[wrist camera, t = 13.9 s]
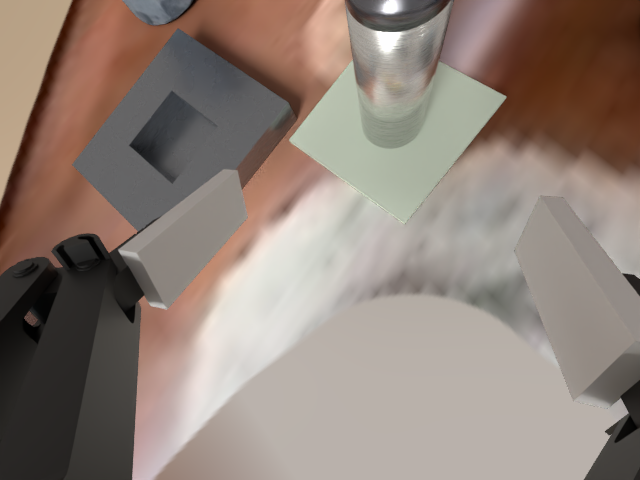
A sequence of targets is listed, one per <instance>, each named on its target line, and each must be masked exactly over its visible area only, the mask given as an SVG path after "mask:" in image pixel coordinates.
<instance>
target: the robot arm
mask: <svg viewBox="0 0 640 480" xmlns="http://www.w3.org/2000/svg"><path fill="white" fill-rule="evenodd" d="M247 218H248V216H247V211H246V207H245V202H244V198H243V193H242V189H241V184H240V179H239V175H238V170H229V169H223V170H222V171H221V172H219V173H218V174H217V175H215V176H214V177H213V178H211V179H210V180H209V181H208V182H206V183H205V184H204V185H202V186H201V187H200V188H198V189H197V190H196V191H194V192H193V193H192V194H190V195H189V196H188V197H187V198H185V199H184V200H183V201H181V202H180V203H179V204H177V205H176V206H175V207H173V208H172V209H171V210H169V211H168V212H167V213H165V214H164V215H163V216H161V217H159V218H156V219H154V220H153V221H151V222H150V223H149V224H147V225H146V226H145V228H142V229H141V230H140V231H138V232H137V234H134V235H133V236H132V237H130V238H129V239H128V240H126V241H125V242H124V243H122V244H121V245H120V246H118V247H117V248H116V249H114V250H113V251H112V252H110V253H108V251H107V250H106V248H105V247H104V245H103V243H102V242H101V240H100V238H99V237H98V236H97V235H95V234H81V235H77V236H74V237H71V238H68V239H66V240H64V241H62V242H61V243H59V244H58V245H56V246H55V247H54V248H53V250H52V251H51V252H52V253H53V254H54V256H55V257H56V258H57V259H58V261H59V262H60V263H61V265H62V266H63V267H61V268H55V267H54V266H53V264H52V263H51V262H50V260H49V259H47V258H45V257H36V258H32V259H26V260H24V261H21V262H18V263H17V264H16V265H14V266H12V267H10V268H9V269H8V270H6V271H5V272H4V273H3V274H2V275H1V276H0V480H132V469H133V451H134V432H135V413H136V395H137V376H138V357H139V338H140V320H141V306H140V304H139V302H138V301H139V300H140V299H141V298H142V297H143V296H145V297H146V299H147V301H148V302H149V304H150V306H154V307H158V308H163V309H168V308H169V307H170V306H171V305H172V303H173V302H174V301H175V300H176V299H177V298H178V297H179V295H180V294H181V293H182V292H183V291H184V290H185V289H186V287H187V286H188V285H189V284H190V283H191V282H192V281H193V279H194V278H195V277H196V276H197V275H198V274H199V273H200V271H201V270H202V269H203V268H204V267H205V266H206V265H207V263H208V262H209V261H210V260H211V259H212V258H213V257H214V255H215V254H216V253H217V252H218V251H219V250H220V249H221V247H222V246H223V245H224V244H225V243H226V242H227V241H228V239H229V238H230V237H231V236H232V235H233V234H234V233H235V231H236V230H237V229H238V228H239V227H240V226H241V225H242V223H243V222H244V221H245V220H246V219H247ZM514 251H515V254H516V256H517V259H518V262H519V264H520V267H521V269H522V272H523V274H524V277H525V279H526V282H527V285H528V287H529V290H530V292H531V295H532V297H533V300H534V302H535V305H536V307H537V310H538V313H539V315H540V318H541V320H542V323H543V325H544V328H545V330H546V333H547V336H548V338H549V341H550V343H551V346H552V348H553V351H554V353H555V356H556V359H557V361H558V364H559V366H560V369H561V371H562V374H563V376H564V379H565V381H566V384H567V387H568V389H569V392H570V394H571V397H572V399H573V401H574V402H578V403H583V404H587V405H592V406H596V407H601V408H605V409H608V408H609V407H610V406H612V405H613V404H614V403H615V402H616V401H618V400H619V399H620V398H621V399H622V401H623V403H624V404H625V406H626V408H627V410H628V412H629V414H627V415H626V416H625V417H623V418H622V419H621V420H619V421H618V422H617V423H615V424H614V425H613V426H611V427H610V428H609V429H607V430H606V431H605V432H606V433H607V434H608V435H611V434H612V435H611V436H610V438H609V440H608V441H607V443H606V445H605V446H604V448H603V449H602V451H601V453H600V455H599V456H598V458H597V459H596V461H595V463H594V464H593V466H592V467H591V469H590V471H589V472H588V474H587V476H586V477H585V479H584V480H640V279H639V278H637V277H636V276H635V275H631V274H623V273H621V272H620V270H619V269H618V268H617V267H616V265H615V264H614V263H613V261H612V260H611V259H610V258H609V256H608V255H607V254H606V252H605V251H604V250H603V249H602V247H601V246H600V245H599V243H598V242H597V241H596V240H595V238H594V237H593V236H592V234H591V233H590V232H589V231H588V229H587V228H586V227H585V225H584V224H583V223H582V222H581V220H580V219H579V218H578V216H577V215H576V214H575V213H574V211H573V210H572V209H571V207H570V206H569V205H568V204H567V202H566V201H565V200H564V198H563V197H551V196H540V197H539V199H538V201H537V203H536V205H535V207H534V209H533V212H532V214H531V216H530V218H529V220H528V222H527V225H526V227H525V229H524V231H523V233H522V235H521V238H520V240H519V242H518V244H517V246H516V248H515V250H514ZM28 311H30V312H31V313H32V314H33V315H34V316H35V317H36V318H37V319H38V321H37V322H36V324H35V325H33V326H32V325H30V324H29V323H28V322H27V321H26V320H25V319H24V317H25V315H26V314H27V313H28Z"/></svg>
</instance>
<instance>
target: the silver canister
mask: <svg viewBox="0 0 640 480" xmlns="http://www.w3.org/2000/svg"><path fill="white" fill-rule="evenodd" d="M453 2H454V0H345V5H346V12H347V20H348V27H349V35H350V42H351V50H352V57H353V65H354V72H355V80H356V87H357V94H358V102H359V109H360V117H361V124H362V130H363V133H364V135H365V136H366V138H367V139H368V140H369V141H370V142H371V143H372V144H374V145H376V146H378V147H381V148H386V149H393V148H399V147H402V146H404V145H406V144H408V143H410V142H411V141H412V140H414V139H415V138H416V136H417V135H418V134H419V132H420V130H421V128H422V125H423V121H424V117H425V113H426V110H427V106H428V102H429V98H430V94H431V90H432V86H433V82H434V78H435V74H436V70H437V66H438V62H439V58H440V54H441V50H442V46H443V42H444V38H445V34H446V30H447V26H448V22H449V18H450V14H451V10H452V6H453Z"/></svg>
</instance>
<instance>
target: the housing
mask: <svg viewBox="0 0 640 480" xmlns="http://www.w3.org/2000/svg"><path fill="white" fill-rule="evenodd" d="M296 120H297V118H296V116H295V114H294V112H293V111H292V109H291V107H290V105H289V103H288V102H287V101H285V100H284V99H282V98H281V97H280V96H278V95H277V94H275V93H274V92H272V91H271V90H269V89H268V88H266V87H265V86H263V85H262V84H260V83H259V82H257V81H256V80H254V79H253V78H251V77H250V76H248V75H247V74H245V73H244V72H242V71H241V70H239V69H238V68H236V67H235V66H233V65H232V64H230V63H229V62H227V61H226V60H224V59H223V58H221V57H220V56H218V55H217V54H216V53H214V52H213V51H211V50H210V49H208V48H207V47H205V46H204V45H202V44H201V43H199V42H198V41H196V40H195V39H193V38H192V37H190V36H189V35H187V34H186V33H184V32H183V31H181V30H180V29H177V30H176V31H175V33H174V34H173V35H172V37H171V38H170V39H169V40H168V42H167V43H166V44H165V46H164V47H163V48H162V49H161V51H160V52H159V53H158V55H157V56H156V57H155V58H154V60H153V61H152V62H151V64H150V65H149V66H148V68H147V69H146V70H145V71H144V73H143V74H142V75H141V77H140V78H139V79H138V80H137V82H136V83H135V84H134V86H133V87H132V88H131V89H130V91H129V92H128V93H127V95H126V96H125V97H124V98H123V100H122V101H121V102H120V104H119V105H118V106H117V107H116V109H115V110H114V111H113V113H112V114H111V115H110V116H109V118H108V119H107V120H106V122H105V123H104V124H103V125H102V127H101V128H100V129H99V131H98V132H97V133H96V135H95V136H94V137H93V138H92V140H91V141H90V142H89V144H88V145H87V146H86V147H85V149H84V150H83V151H82V153H81V154H80V155H79V156H78V158H77V159H76V160H75V162H74V163H73V164H72V165H73V166H74V167H75V168H76V169H77V170H78V171H79V172H80V173H81V174H82V175H83V176H84V177H85V178H86V179H87V180H88V181H89V182H90V183H91V184H92V185H93V186H94V187H95V188H96V189H97V190H98V191H99V192H100V193H101V194H102V195H103V196H104V197H105V198H106V200H107V201H108V202H109V203H110V204H111V205H112V206H113V207H114V208H115V209H116V210H117V211H118V212H119V213H120V214H121V215H122V216H123V217H124V218H125V219H126V220H127V221H128V222H129V223H130V224H131V225H132V226H133V227H134V228H135V229H136V230H137V231H140V230H141V229H142V228H145V226H146V225H147V224H149V223H150V222H151V221H153V220H154V219H156V218H159V217H161V216H163V215H164V214H165V213H167V212H168V211H169V210H171V209H172V208H173V207H175V206H176V205H177V204H179V203H180V202H181V201H183V200H184V199H185V198H187V197H188V196H189V195H190V194H192V193H193V192H194V191H196V190H197V189H198V188H200V187H201V186H202V185H204V184H205V183H206V182H208V181H209V180H210V179H211V178H213V177H214V176H215V175H217V174H218V173H219V172H221V171H222V170H223V169H229V170H238V175H239V179H240V184H241V189H243V187H244V186H245V185H246V184H247V182H248V181H249V180H250V178H251V177H252V176H253V175H254V173H255V172H256V171H257V170H258V168H259V167H260V166H261V165H262V163H263V162H264V161H265V159H266V158H267V157H268V156H269V154H270V153H271V152H272V151H273V149H274V148H275V147H276V146H277V144H278V143H279V142H280V141H281V139H282V138H283V137H284V135H285V134H286V133H287V132H288V130H289V129H290V128H291V127H292V125H293V124H294V123H295V122H296Z"/></svg>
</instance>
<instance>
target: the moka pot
mask: <svg viewBox="0 0 640 480" xmlns="http://www.w3.org/2000/svg"><path fill="white" fill-rule="evenodd" d="M123 2H124V3H125V4H126V5H127V6H128V7H129V9H130V10H131V11H132V12H133V13H134V14H135V16H137V17H138V18H139V19H140V20H142V21H143V22H145V23H147V24H149V25H161V24H167V23H168V22H171V21H173V20H175V19H176V18H178V17H179V16H180V15H181V14H182V13H183V12H184V11H185V10H186V9H187V8H188V7H189V6H190V5H191V3H192V2H193V0H123Z"/></svg>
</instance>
